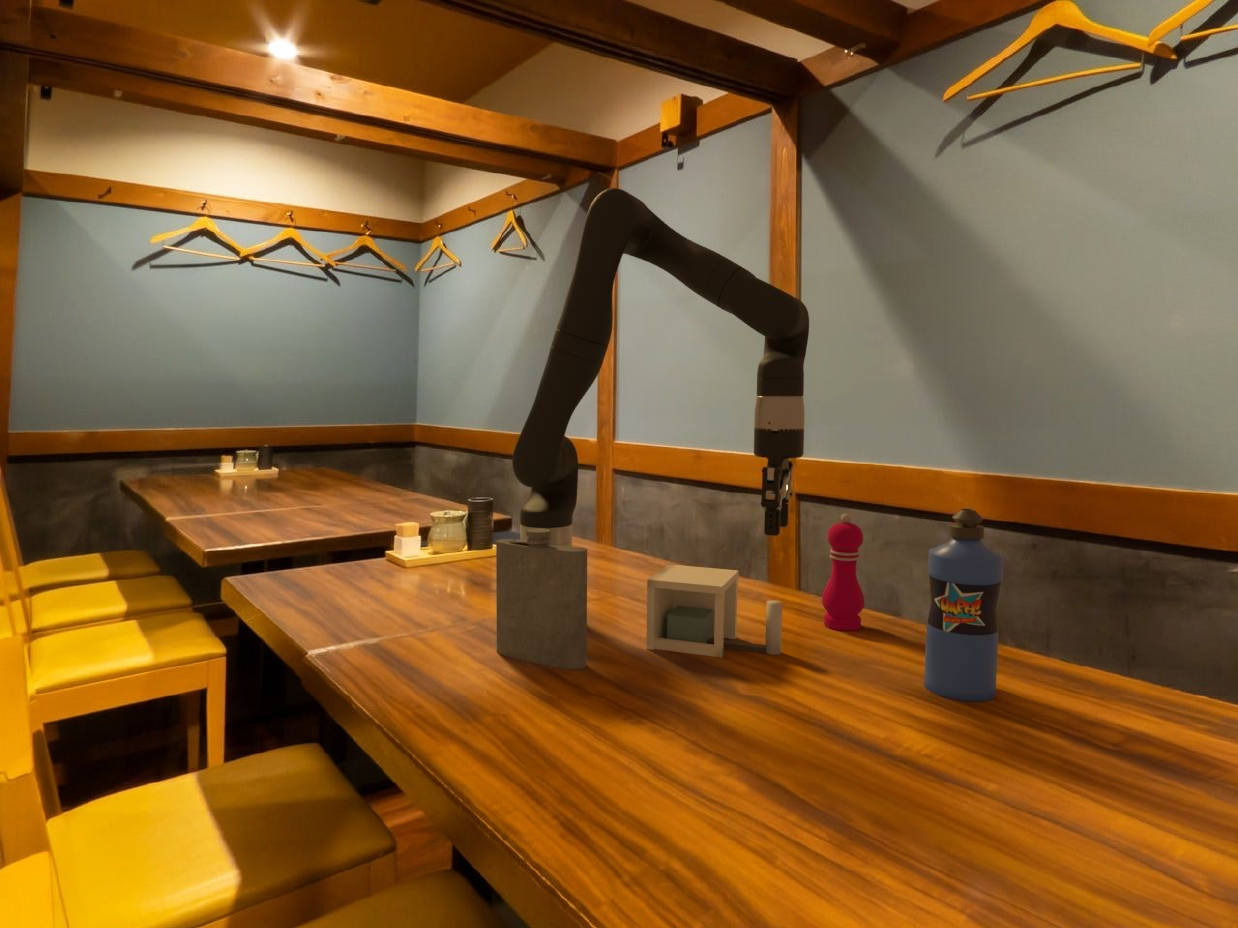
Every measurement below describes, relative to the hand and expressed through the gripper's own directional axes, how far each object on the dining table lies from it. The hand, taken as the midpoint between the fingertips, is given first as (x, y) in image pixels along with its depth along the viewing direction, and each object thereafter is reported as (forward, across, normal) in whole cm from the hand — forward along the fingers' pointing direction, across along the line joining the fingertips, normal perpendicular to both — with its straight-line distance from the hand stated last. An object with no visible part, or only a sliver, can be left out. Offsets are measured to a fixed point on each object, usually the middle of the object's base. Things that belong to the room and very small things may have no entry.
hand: (776, 530), depth 119 cm
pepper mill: (+20, -19, +9) cm, 29 cm away
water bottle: (+20, +6, +26) cm, 33 cm away
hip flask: (+20, +17, -33) cm, 42 cm away
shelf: (+19, 0, -13) cm, 23 cm away
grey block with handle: (+19, 0, -8) cm, 21 cm away
